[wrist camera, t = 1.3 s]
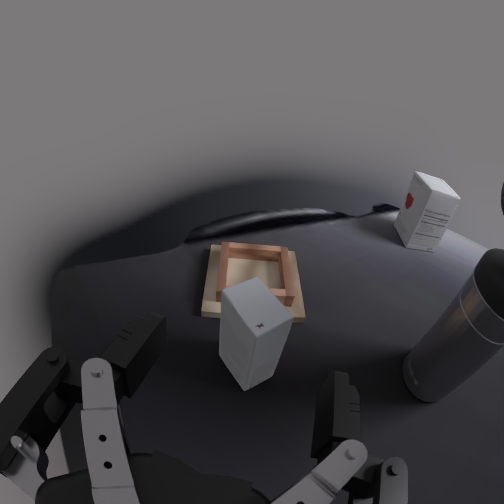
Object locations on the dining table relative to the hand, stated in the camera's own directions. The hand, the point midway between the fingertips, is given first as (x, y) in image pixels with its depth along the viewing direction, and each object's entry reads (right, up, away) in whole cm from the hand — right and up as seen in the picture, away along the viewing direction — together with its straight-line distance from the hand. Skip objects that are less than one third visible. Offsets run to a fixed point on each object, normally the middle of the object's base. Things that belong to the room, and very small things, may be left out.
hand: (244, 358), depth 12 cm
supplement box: (+38, +8, +47) cm, 61 cm away
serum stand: (0, 0, +31) cm, 31 cm away
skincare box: (-1, -9, +20) cm, 22 cm away
